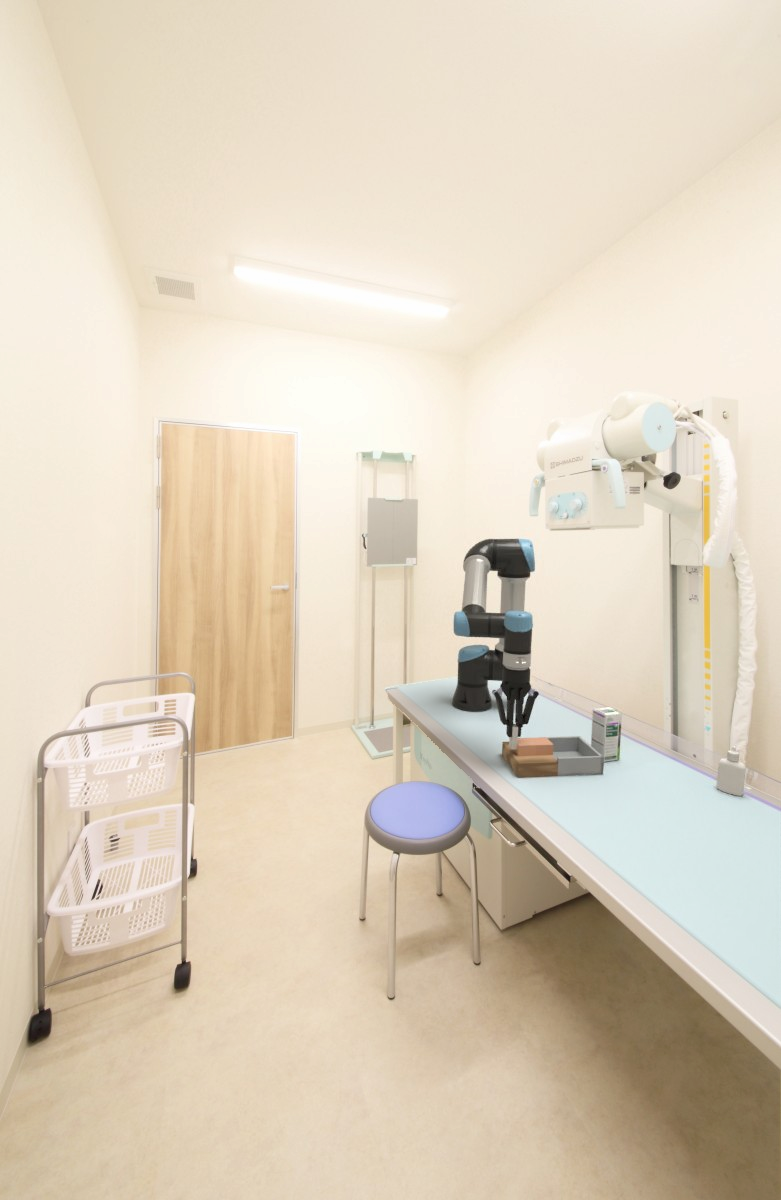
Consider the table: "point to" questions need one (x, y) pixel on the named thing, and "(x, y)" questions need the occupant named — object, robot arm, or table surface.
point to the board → (530, 763)
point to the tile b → (543, 746)
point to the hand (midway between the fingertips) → (513, 747)
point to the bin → (576, 756)
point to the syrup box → (606, 732)
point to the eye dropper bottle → (731, 774)
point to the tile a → (525, 747)
